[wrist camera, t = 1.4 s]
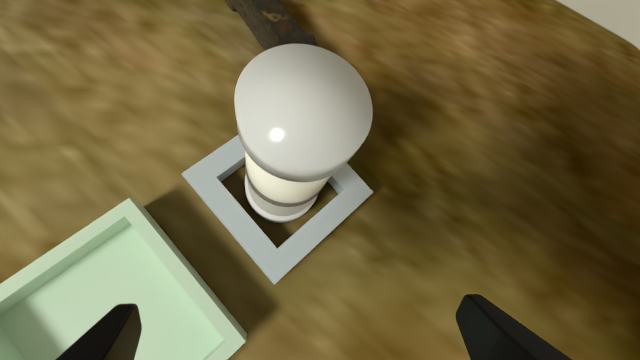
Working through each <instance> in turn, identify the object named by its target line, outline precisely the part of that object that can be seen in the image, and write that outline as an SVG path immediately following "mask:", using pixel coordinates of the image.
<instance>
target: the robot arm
mask: <svg viewBox="0 0 640 360" xmlns="http://www.w3.org/2000/svg"><path fill="white" fill-rule="evenodd" d="M456 321H457V324H458V326H459V329H460V332H461V335H462V337H463V340H464V343H465V345H466V348H467V351H468V354H469V356H470V359H471V360H572V359H570V358H569V357H567V356H566V355H565V354H563V353H562V352H560V351H559V350H557V349H556V348H555V347H553V346H552V345H550V344H549V343H548V342H546V341H545V340H543V339H542V338H541V337H539V336H538V335H536V334H535V333H533V332H532V331H531V330H529V329H528V328H526V327H525V326H524V325H522V324H521V323H519V322H518V321H517V320H515V319H514V318H512V317H511V316H509V315H508V314H507V313H505V312H504V311H502V310H501V309H500V308H498V307H497V306H495V305H494V304H493V303H491V302H490V301H488V300H487V299H485V298H484V297H483V296H481V295H478V294H468V295H465V296H464V297H463V299H462V301H461V303H460V306H459V308H458V310H457V312H456ZM141 331H142V324H141V319H140V314H139V309H138V306H137V304H134V303H127V304H118V305H116V306H115V307H113V308H112V309H111V310H110V311H109V312H108V313H107V314H106V315H105V316H103V317H102V318H101V319H100V320H99V321H98V322H97V323H96V324H94V325H93V326H92V327H91V328H90V329H89V330H88V331H87V332H85V333H84V334H83V335H82V336H81V337H80V338H79V339H78V340H77V341H75V342H74V343H73V344H72V345H71V346H70V347H69V348H68V349H66V350H65V351H64V352H63V353H62V354H61V355H60V356H59V357H58V358H56V359H55V360H134V358H135V354H136V351H137V347H138V344H139V340H140V336H141Z"/></svg>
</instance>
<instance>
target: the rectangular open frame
mask: <svg viewBox="0 0 640 360" xmlns="http://www.w3.org/2000/svg"><path fill="white" fill-rule="evenodd" d="M244 164H245V149H244V147H243V145H242V143H241V140H240V137H239V135H237V136H236V137H234V138H233V139H231V140H230V141H228V142H227V143H226V144H224V145H223V146H221V147H220V148H218V149H217V150H215V151H214V152H212V153H211V154H209V155H208V156H207V157H205V158H204V159H202V160H201V161H199V162H198V163H196V164H195V165H193V166H192V167H190V168H189V169H187V170H186V171H185V172H183V173H182V175H183V177H184V178H185V180H186V181H187V182H188V183H189V184H190V186H191V187H192V188H193V189H194V190H195V192H196V193H197V194H198V195H199V196H200V197H201V199H202V200H203V201H204V202H205V203H206V205H207V206H208V207H209V208H210V209H211V211H212V212H213V213H214V214H215V215H216V217H217V218H218V219H219V220H220V221H221V222H222V224H223V225H224V226H225V227H226V228H227V230H228V231H229V232H230V233H231V234H232V236H233V237H234V238H235V239H236V240H237V242H238V243H239V244H240V245H241V246H242V247H243V249H244V250H245V251H246V252H247V253H248V255H249V256H250V257H251V258H252V259H253V261H254V262H255V263H256V264H257V265H258V267H259V268H260V269H261V270H262V271H263V272H264V274H265V275H266V276H267V277H268V278H269V280H270V281H271V282H272V283H273V284H275V283H277V282H278V281H279V280H280V279H281V278H282V277H283V276H284V275H285V274H286V273H287V272H288V271H289V270H291V269H292V268H293V267H294V266H295V265H296V264H297V263H298V262H299V261H300V260H301V259H302V258H303V257H304V256H306V255H307V254H308V253H309V252H310V251H311V250H312V249H313V248H314V247H315V246H316V245H317V244H318V243H320V242H321V241H322V240H323V239H324V238H325V237H326V236H327V235H328V234H329V233H330V232H331V231H332V230H333V229H335V228H336V227H337V226H338V225H339V224H340V223H341V222H342V221H343V220H344V219H345V218H346V217H347V216H349V215H350V214H351V213H352V212H353V211H354V210H355V209H356V208H357V207H358V206H359V205H360V204H361V203H362V202H364V201H365V200H366V199H367V198H368V197H369V196H370V195H371V194H372V193H373V191H372V190H371V189H370V188H369V187H368V186H367V185H366V183H365V182H364V181H363V180H362V179H361V178H360V177H359V176H358V175H357V174H356V172H355V171H354V170H353V169H352V168H351V167H350V166H349V165H348V164H347V163H346V164H345V165H344V166H343V167H342V168H341V169H340V170H339V171H337V172H336V173H335V174H333V175H331V177H330V178H329V179H328V180H327V182H328V183H329V184H330V185H331V186H332V187H333V188H334V189H335V190H336V192H337V193H338V194H339V195H337V196H336V197H335V198H334V199H333V200H332V201H331V202H329V203H328V204H327V205H326V206H325V207H324V208H323V209H322V210H320V211H319V212H318V213H317V214H316V215H315V216H314V217H313V218H311V219H310V220H309V221H308V222H307V223H306V224H305V225H303V226H302V227H301V228H300V229H299V230H298V231H297V232H296V233H294V234H293V235H292V236H291V237H290V238H289V239H288V240H286V241H285V242H284V243H283V244H282V245H281V246H280V247H279V248H276V247H275V245H274V244H273V243H272V242H271V241H270V240H269V238H268V237H267V236H266V235H265V234H264V232H263V231H262V230H261V229H260V228H259V227H258V225H257V224H256V223H255V222H254V221H253V220H252V218H251V217H250V216H249V215H248V214H247V213H246V211H245V210H244V209H243V208H242V207H241V206H240V204H239V203H238V202H237V201H236V200H235V198H234V197H233V196H232V195H231V194H230V193H229V191H228V190H227V189H226V188H225V187H224V186H223V184H222V183H221V181H223V180H224V179H225V178H227V177H228V176H229V175H231V174H232V173H234V172H235V171H236V170H238V169H239V168H240V167H242V166H243V165H244Z"/></svg>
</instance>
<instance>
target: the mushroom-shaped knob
mask: <svg viewBox="0 0 640 360" xmlns="http://www.w3.org/2000/svg"><path fill="white" fill-rule="evenodd" d="M234 101H235V112H236V119H237V127H238V133H239V137H240V140H241V143H242V145H243V147H244V149H245V169H246V176H245V191H246V197H247V200H248V203H249V205H250V207H251V208H252V210H253V211H254V212H255V213H256V214H257V215H258V216H260V217H261V218H263V219H264V220H267V221H269V222H273V223H289V222H292V221H295V220H297V219H299V218H300V217H302V216H303V215H304V214H305V213H306V212H307V211H308V210H309V209H310V207H311V206H312V205H313V203H314V202H315V200H316V198H317V195H318V194H319V192H320V191H321V190H322V188H323V187H324V186H325V184H326V182H327V180H328V179H329V178H330V177H331V175H333V174H335V173H336V172H337V171H339V170H340V169H341V168H342V167H343V166H344V165H345V164H346V163H347V162H348V161H349V160H350V158H351V157H352V156H353V155H354V154H355V152H356V151H357V150H358V149H359V147H360V146H361V145H362V143H363V142H364V141H365V139H366V137H367V135H368V133H369V130H370V128H371V123H372V116H373V108H372V101H371V96H370V93H369V91H368V88H367V86H366V84H365V82H364V81H363V79H362V78H361V76H360V75H359V73H358V72H357V71H356V70H355V69H354V68H353V67H352V66H351V65H350V64H349V63H348V62H347V61H345V60H344V59H343V58H341V57H340V56H338V55H336V54H335V53H333V52H331V51H328V50H326V49H323V48H320V47H317V46H313V45H307V44H286V45H281V46H276V47H273V48H271V49H268V50H266V51H264V52H262V53H261V54H259V55H258V56H256V57H255V58H254V59H253V60H252V61H250V62H249V63H248V65H247V66H246V67H245V68H244V70H243V71H242V73H241V75H240V77H239V79H238V82H237V85H236V89H235V98H234Z"/></svg>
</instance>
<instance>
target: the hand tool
mask: <svg viewBox="0 0 640 360" xmlns="http://www.w3.org/2000/svg"><path fill="white" fill-rule="evenodd" d="M225 1H226V3H227V5H228V6H229V7H230V9H231V10H232V11H237V12H238V13H239V14H240V15H241V17H242V18H243V20H244V21H245V23H246V24H247V26H248V27H249V28H250V30H251V31H252V32H253V34H254V35H255V37H256V39H257V40H258V42H259V43H260V45H261V46H262V47H263V48H264V49H265V50H268V49H271V48H273V47H276V46H281V45H286V44H307V45H313V46H317V47H318V45H317V43H316V41H315V38H314V36H313V35H310V34H307V33H305V32H304V31H303V29H302V28H301V27H300V26H299V25H298V23H297V22H296V21H295V20H294V18H293V17H292V16H291V15H290V13H289V12H288V11H287V9H286V8H285V7H284V6H283V5H282V3H281V2H280V1H279V0H225Z"/></svg>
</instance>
